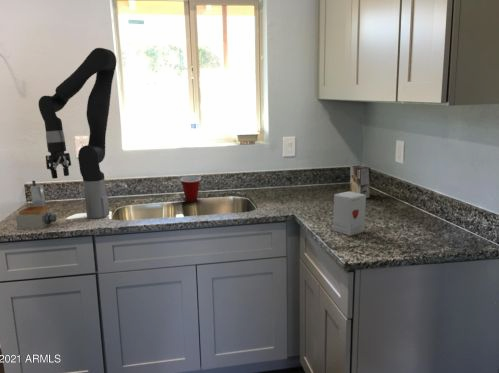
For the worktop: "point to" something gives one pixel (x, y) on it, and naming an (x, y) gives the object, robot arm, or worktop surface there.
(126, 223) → the worktop surface
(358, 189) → the coffee box
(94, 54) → the robot arm
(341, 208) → the supplement box
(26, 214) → the gearbox
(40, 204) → the moka pot
